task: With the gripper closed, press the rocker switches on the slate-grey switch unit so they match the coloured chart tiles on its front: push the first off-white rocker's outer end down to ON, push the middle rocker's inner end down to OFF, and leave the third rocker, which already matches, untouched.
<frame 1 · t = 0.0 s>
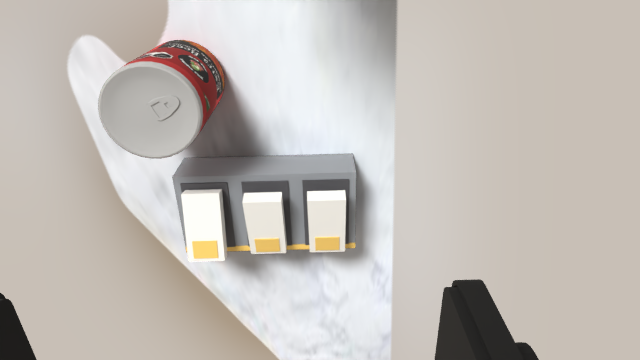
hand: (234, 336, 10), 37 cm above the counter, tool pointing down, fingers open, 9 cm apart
rocker 3: (326, 222, 44), point 7 cm above the counter, hinge at 12.0°
rocker 1: (204, 225, 44), point 7 cm above the counter, hinge at -12.0°
rocker 2: (265, 224, 44), point 7 cm above the counter, hinge at 12.0°
canned food: (186, 78, 44), on the counter
switch unit: (271, 192, 50), on the counter
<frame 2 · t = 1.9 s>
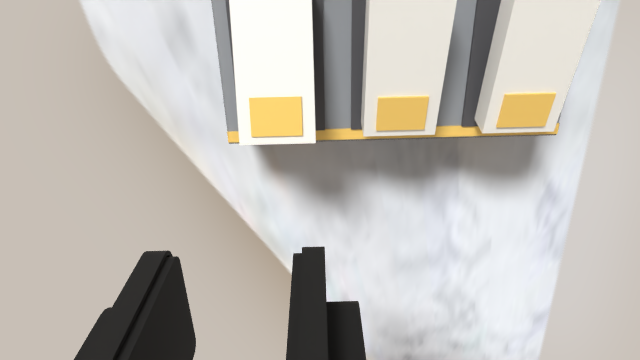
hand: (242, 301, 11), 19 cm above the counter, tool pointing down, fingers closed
rocker 3: (532, 61, 21), point 7 cm above the counter, hinge at 12.0°
rocker 1: (275, 67, 21), point 7 cm above the counter, hinge at -12.0°
rocker 2: (403, 64, 21), point 7 cm above the counter, hinge at 12.0°
switch unit: (384, 40, 27), on the counter
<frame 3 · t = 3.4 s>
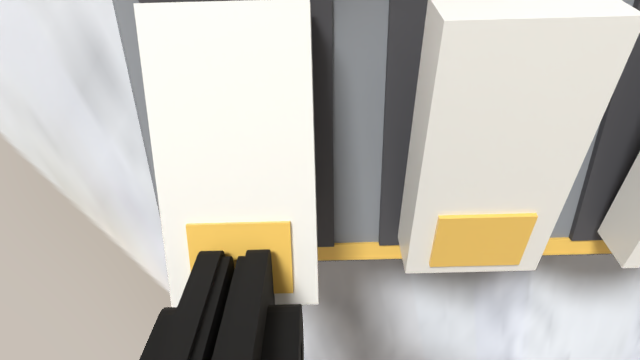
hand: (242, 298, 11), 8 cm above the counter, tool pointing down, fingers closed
rocker 1: (239, 161, 11), point 7 cm above the counter, hinge at -11.9°, touching gripper
rocker 2: (491, 156, 11), point 7 cm above the counter, hinge at 12.0°
switch unit: (428, 82, 16), on the counter
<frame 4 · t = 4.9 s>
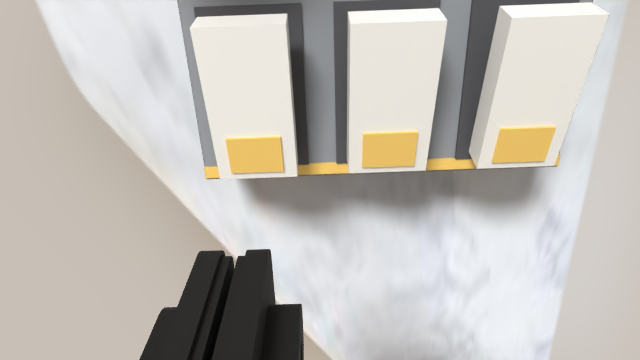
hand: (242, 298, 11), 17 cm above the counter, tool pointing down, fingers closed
rocker 3: (529, 93, 19), point 7 cm above the counter, hinge at 12.0°
rocker 1: (251, 103, 19), point 7 cm above the counter, hinge at 9.7°
rocker 2: (390, 98, 19), point 7 cm above the counter, hinge at 12.0°
switch unit: (372, 65, 25), on the counter
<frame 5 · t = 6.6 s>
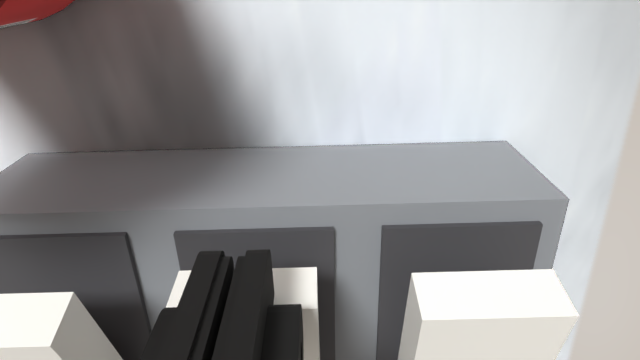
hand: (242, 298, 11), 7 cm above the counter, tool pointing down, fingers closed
switch unit: (275, 247, 19), on the counter
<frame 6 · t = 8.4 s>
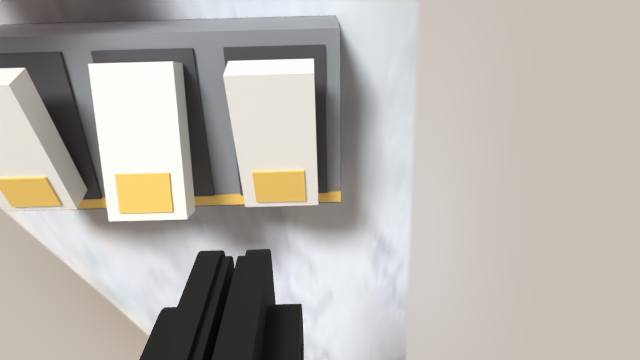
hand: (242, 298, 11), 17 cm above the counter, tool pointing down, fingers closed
rocker 3: (276, 139, 20), point 7 cm above the counter, hinge at 12.0°
rocker 1: (13, 146, 20), point 7 cm above the counter, hinge at 15.4°
rocker 2: (144, 142, 20), point 7 cm above the counter, hinge at -14.6°
switch unit: (182, 100, 26), on the counter
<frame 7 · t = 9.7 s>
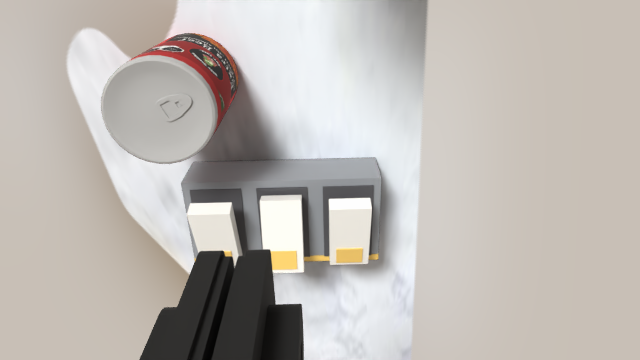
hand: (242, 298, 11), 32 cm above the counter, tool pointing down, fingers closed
rocker 3: (349, 233, 40), point 7 cm above the counter, hinge at 12.0°
rocker 1: (216, 236, 40), point 7 cm above the counter, hinge at 14.7°
rocker 2: (282, 234, 40), point 7 cm above the counter, hinge at -9.4°
canned food: (196, 75, 41), on the counter
switch unit: (286, 199, 46), on the counter
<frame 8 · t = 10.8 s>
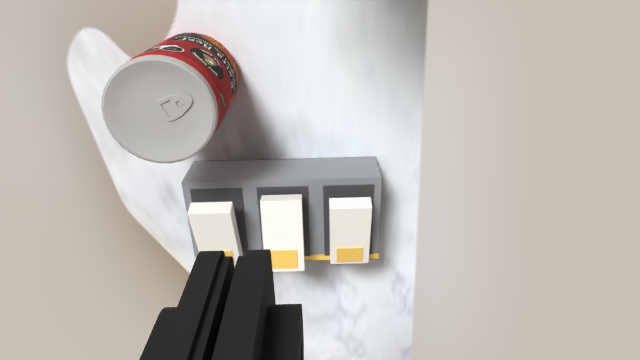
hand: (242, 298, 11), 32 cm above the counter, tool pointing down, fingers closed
rocker 3: (349, 232, 40), point 7 cm above the counter, hinge at 12.0°
rocker 1: (217, 235, 40), point 7 cm above the counter, hinge at 14.5°
rocker 2: (283, 233, 40), point 7 cm above the counter, hinge at -7.3°
canned food: (196, 74, 41), on the counter
switch unit: (287, 198, 46), on the counter
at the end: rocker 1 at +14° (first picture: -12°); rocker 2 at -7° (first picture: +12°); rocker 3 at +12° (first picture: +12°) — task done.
